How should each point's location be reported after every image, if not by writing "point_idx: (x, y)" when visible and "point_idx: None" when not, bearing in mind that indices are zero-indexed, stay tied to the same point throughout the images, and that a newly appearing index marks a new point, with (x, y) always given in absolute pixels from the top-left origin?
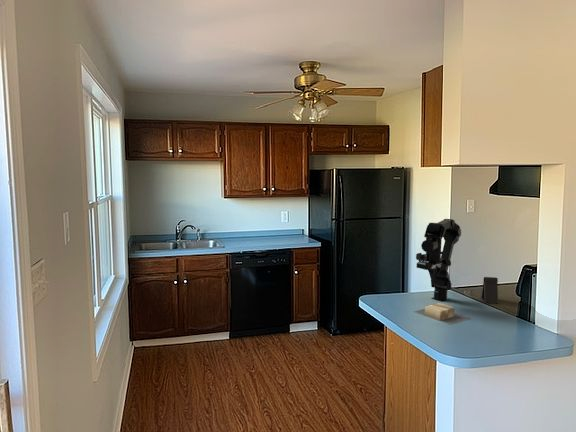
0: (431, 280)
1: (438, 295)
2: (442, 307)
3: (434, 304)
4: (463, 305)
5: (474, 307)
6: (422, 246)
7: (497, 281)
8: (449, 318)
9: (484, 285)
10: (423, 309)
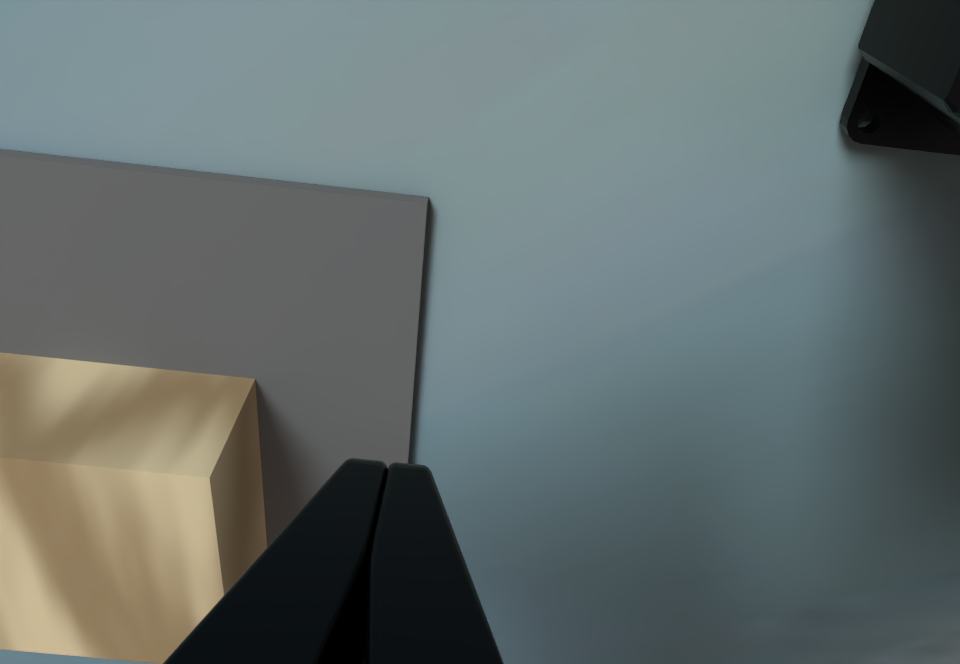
0: (331, 480)
1: (908, 86)
2: (65, 591)
3: (48, 471)
4: (897, 429)
5: (892, 542)
6: None
7: None
8: None
9: None
10: (81, 179)
